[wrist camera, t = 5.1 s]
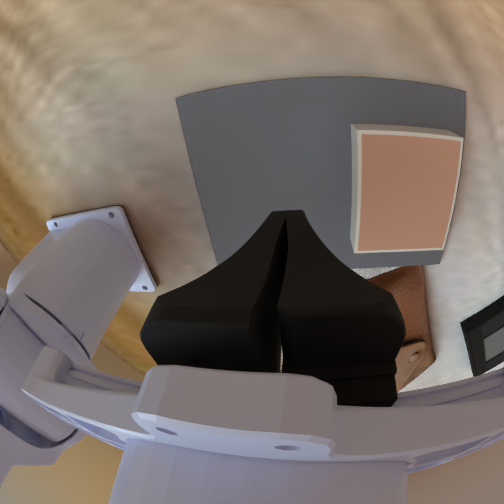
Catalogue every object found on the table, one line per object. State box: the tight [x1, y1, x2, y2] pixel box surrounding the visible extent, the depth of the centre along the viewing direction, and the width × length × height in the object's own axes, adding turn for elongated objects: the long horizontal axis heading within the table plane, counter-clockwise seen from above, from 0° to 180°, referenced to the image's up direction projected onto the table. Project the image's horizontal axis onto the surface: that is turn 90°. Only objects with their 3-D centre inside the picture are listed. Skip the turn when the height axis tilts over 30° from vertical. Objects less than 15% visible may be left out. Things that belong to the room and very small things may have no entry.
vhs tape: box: [460, 295, 504, 377], centre depth 20 cm, size 8×14×2 cm, turn 43°
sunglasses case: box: [367, 265, 436, 393], centre depth 22 cm, size 18×7×7 cm
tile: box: [350, 124, 464, 253], centre depth 13 cm, size 2×7×6 cm
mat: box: [176, 77, 466, 269], centre depth 15 cm, size 16×12×1 cm
